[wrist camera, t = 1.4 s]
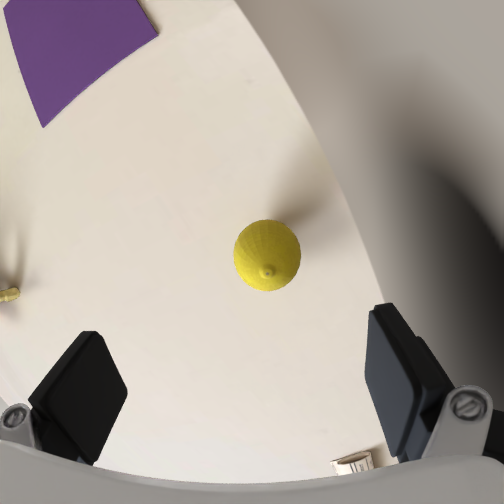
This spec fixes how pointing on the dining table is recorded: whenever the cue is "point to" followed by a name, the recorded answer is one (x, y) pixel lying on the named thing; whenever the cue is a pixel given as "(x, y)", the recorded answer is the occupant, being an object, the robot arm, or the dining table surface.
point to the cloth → (71, 45)
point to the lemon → (267, 255)
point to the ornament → (9, 294)
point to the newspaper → (353, 463)
